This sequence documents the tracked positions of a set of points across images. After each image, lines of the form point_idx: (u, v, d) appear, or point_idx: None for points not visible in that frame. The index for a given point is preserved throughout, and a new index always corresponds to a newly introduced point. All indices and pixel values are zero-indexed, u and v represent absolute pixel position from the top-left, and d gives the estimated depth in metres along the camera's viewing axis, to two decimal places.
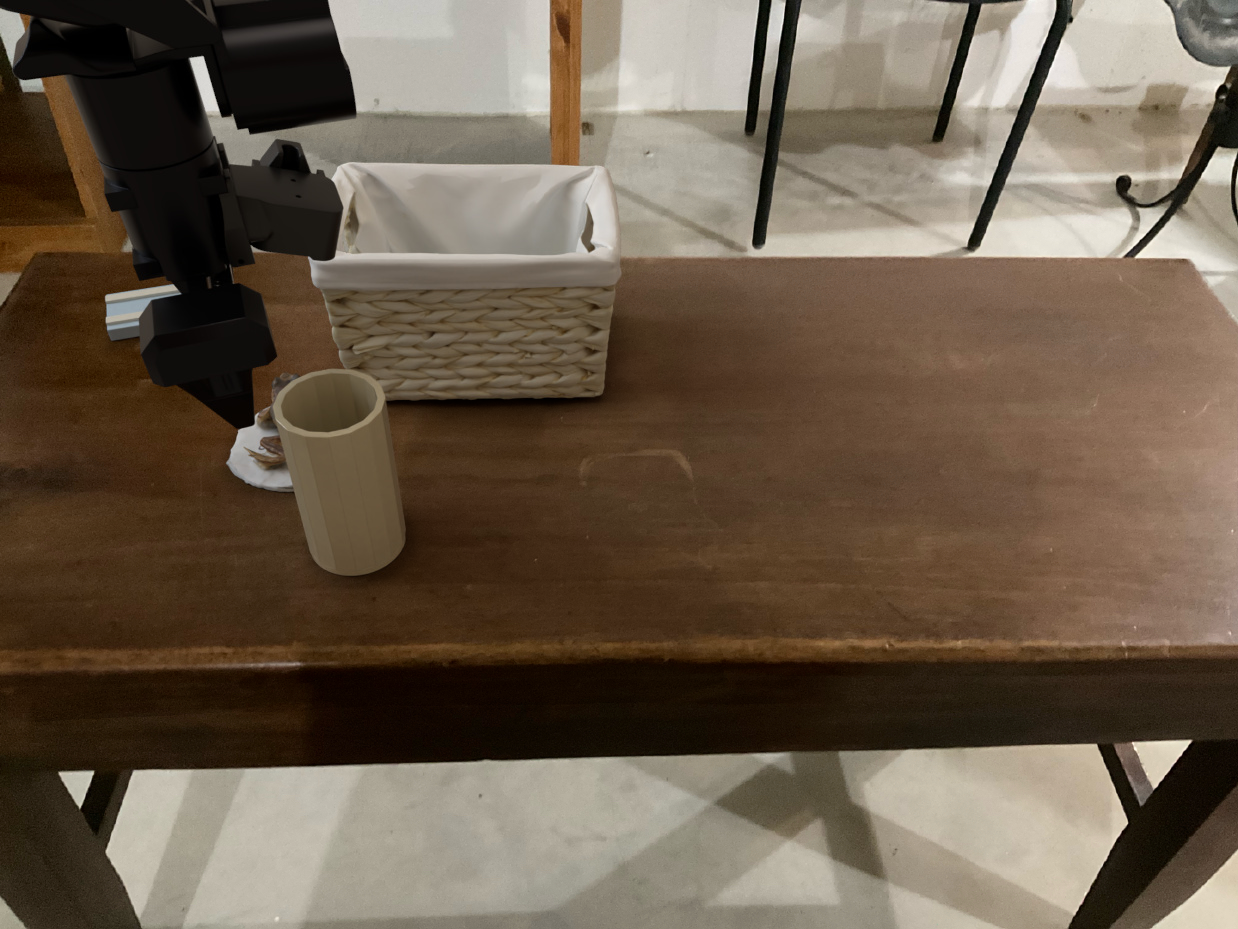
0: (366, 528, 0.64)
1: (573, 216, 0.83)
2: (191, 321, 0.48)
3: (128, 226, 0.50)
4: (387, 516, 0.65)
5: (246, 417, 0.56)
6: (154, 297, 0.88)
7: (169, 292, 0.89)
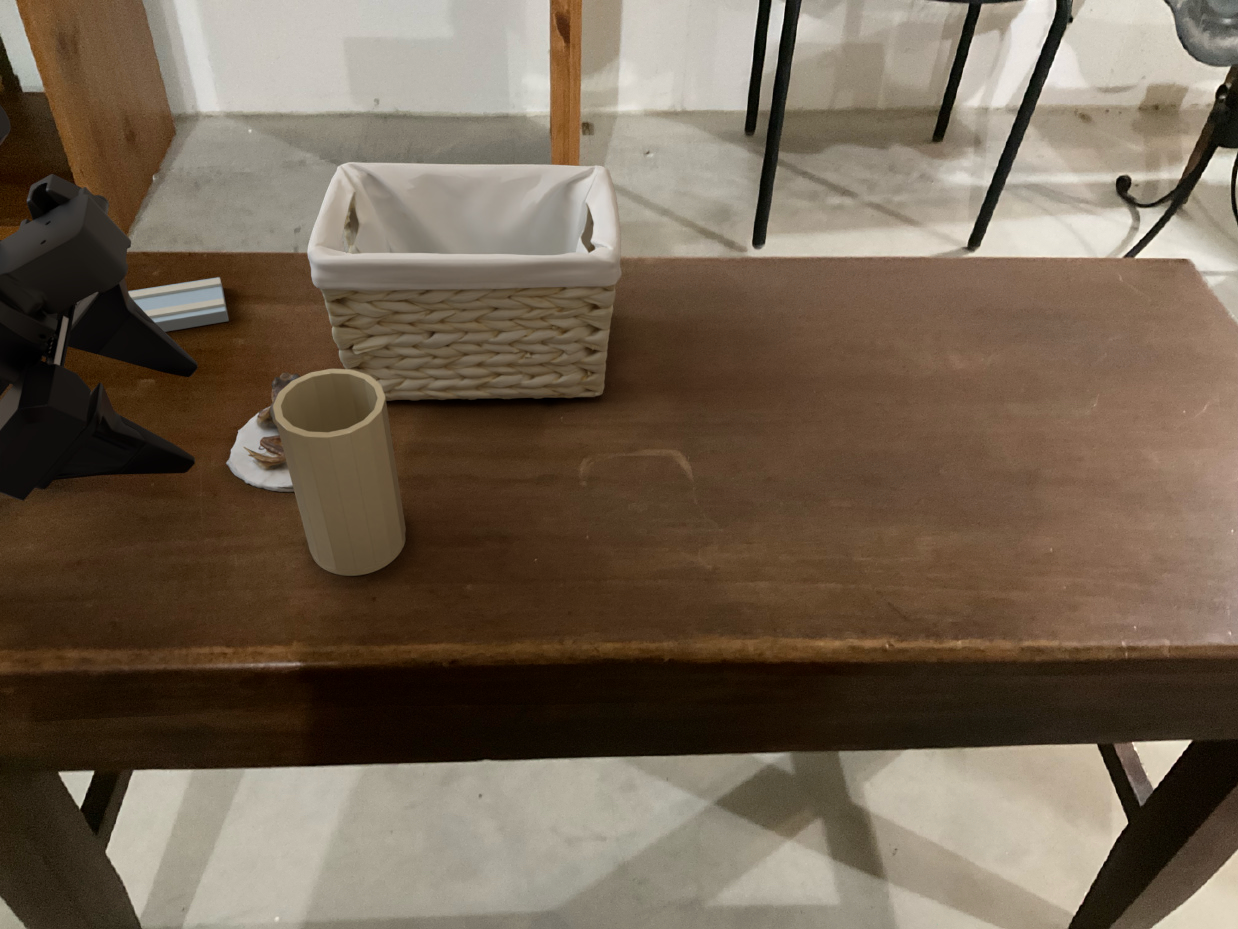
0: (366, 528, 0.64)
1: (574, 216, 0.83)
2: None
3: None
4: (387, 516, 0.65)
5: (177, 461, 0.54)
6: (154, 297, 0.88)
7: (169, 292, 0.89)
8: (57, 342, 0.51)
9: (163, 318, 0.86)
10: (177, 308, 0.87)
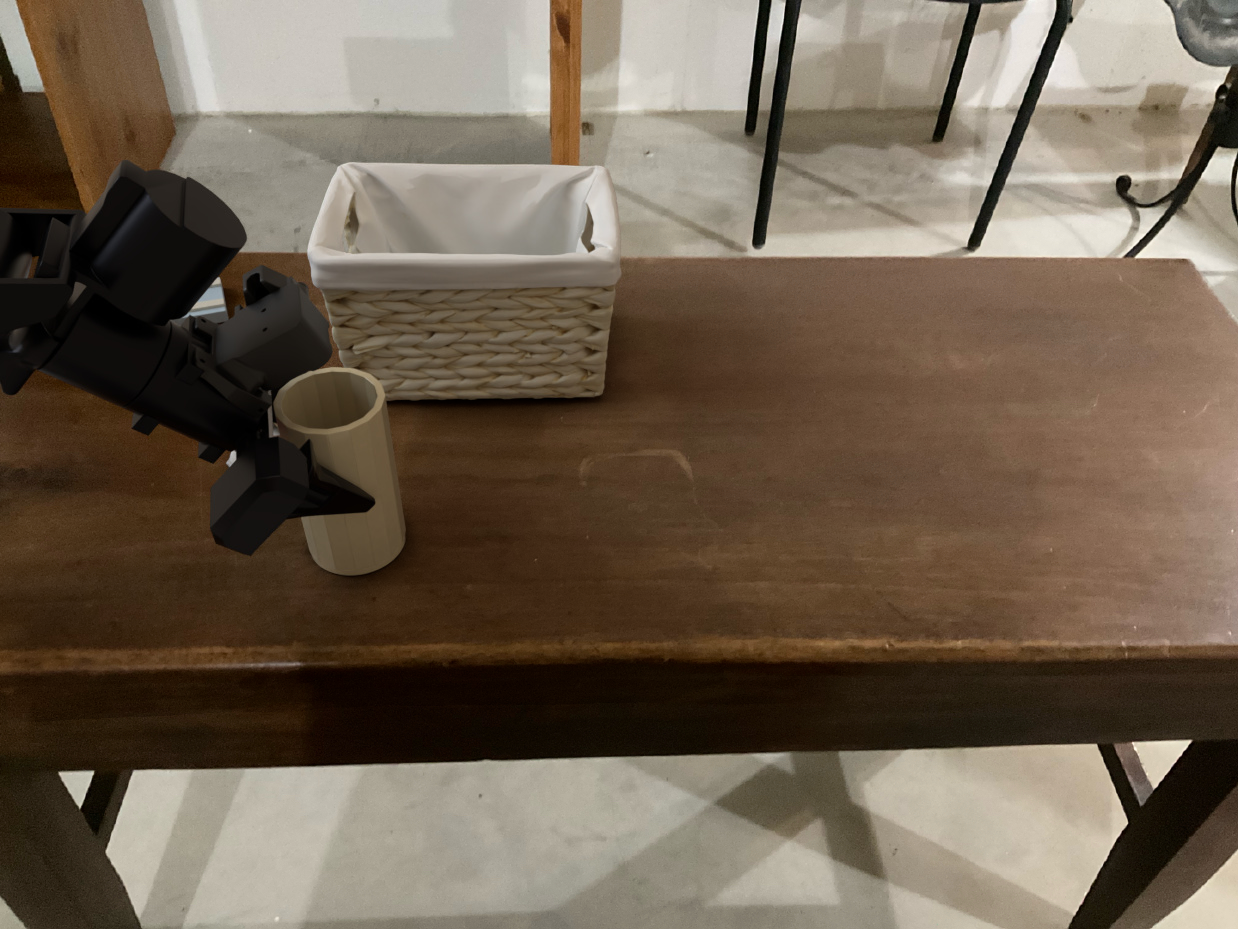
0: (365, 527, 0.64)
1: (573, 216, 0.83)
2: (228, 501, 0.53)
3: (175, 431, 0.57)
4: (386, 515, 0.65)
5: (362, 503, 0.62)
6: None
7: None
8: (267, 413, 0.58)
9: None
10: None
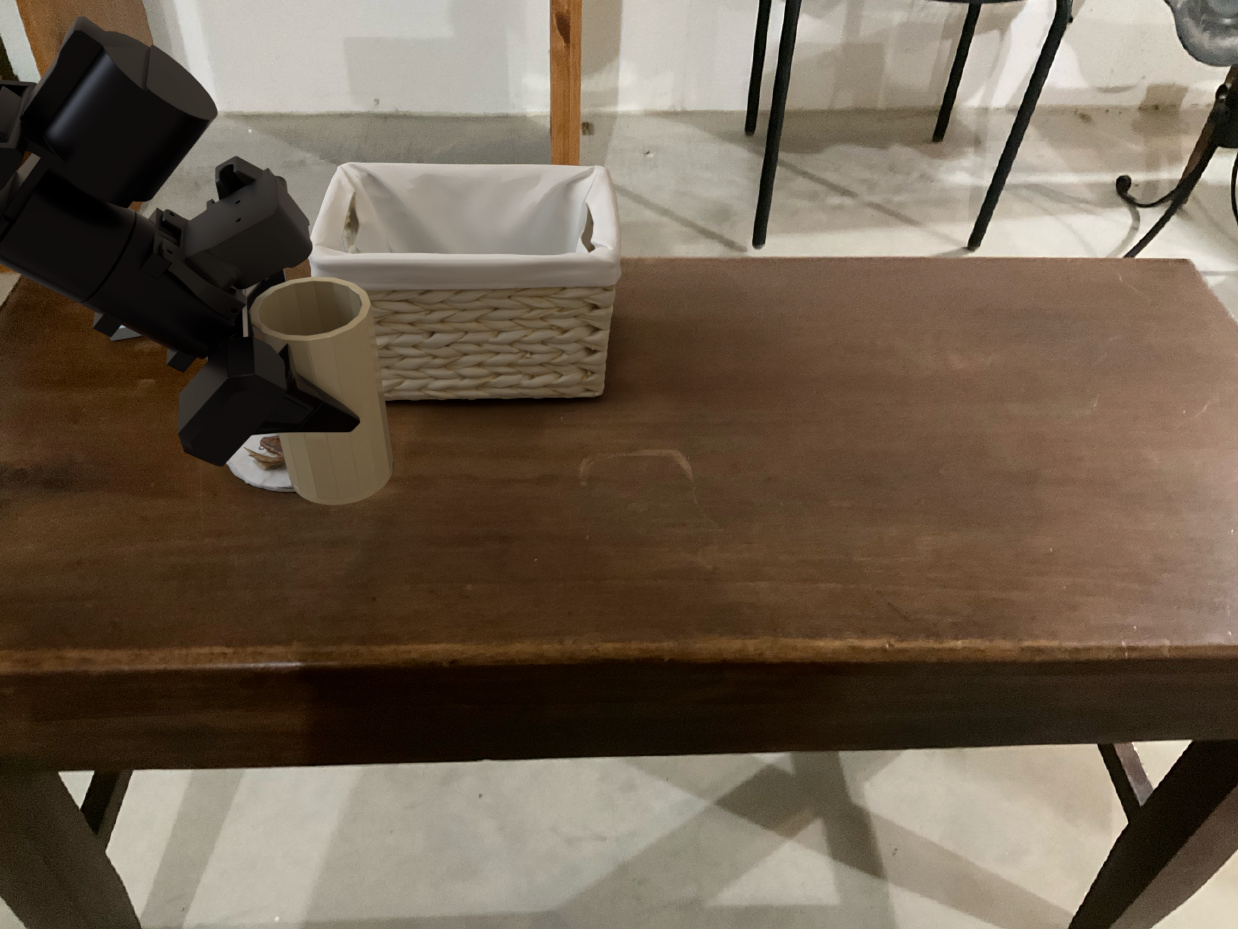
0: (349, 450, 0.60)
1: (574, 216, 0.83)
2: (198, 403, 0.49)
3: (142, 335, 0.52)
4: (372, 438, 0.60)
5: (346, 421, 0.57)
6: None
7: None
8: (241, 317, 0.53)
9: None
10: None
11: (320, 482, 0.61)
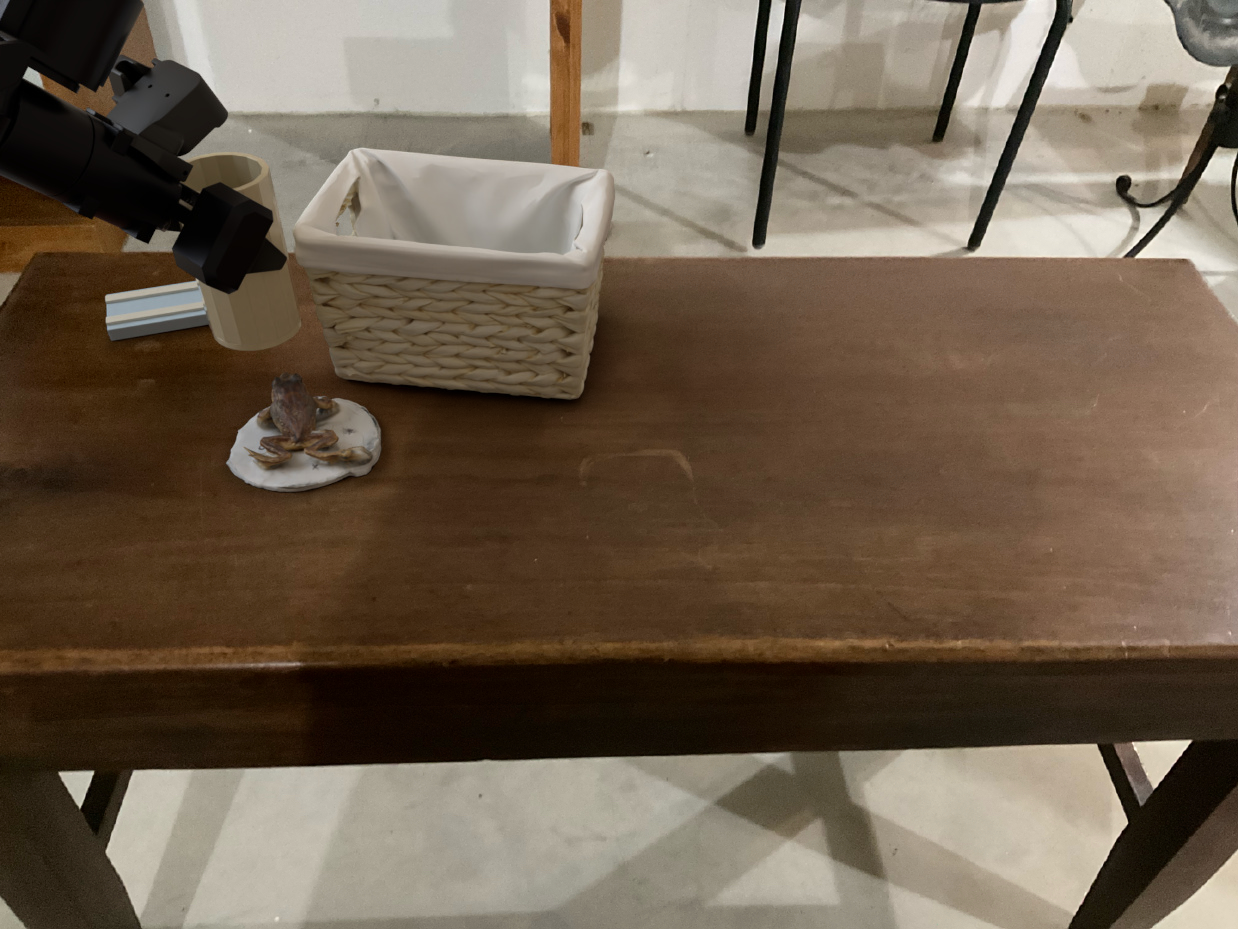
0: (280, 289, 0.72)
1: (574, 217, 0.83)
2: (209, 238, 0.60)
3: (106, 218, 0.61)
4: (290, 277, 0.73)
5: (279, 257, 0.70)
6: (154, 297, 0.88)
7: (169, 292, 0.89)
8: (181, 184, 0.64)
9: (163, 318, 0.86)
10: (177, 308, 0.87)
11: (261, 326, 0.73)
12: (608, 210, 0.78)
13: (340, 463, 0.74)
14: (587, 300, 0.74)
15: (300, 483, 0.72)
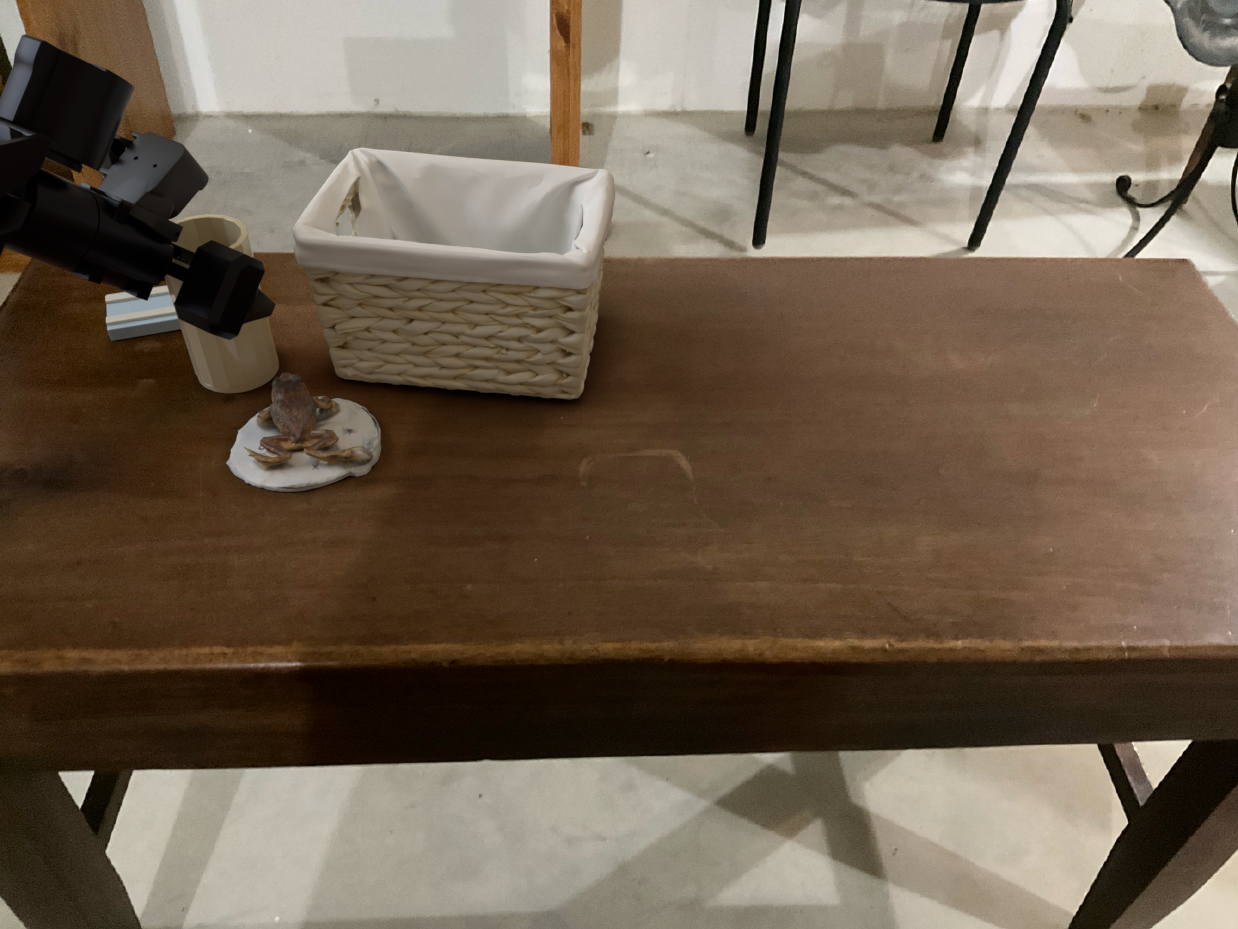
0: (262, 335, 0.79)
1: (574, 217, 0.83)
2: (210, 292, 0.67)
3: (109, 281, 0.67)
4: (269, 323, 0.81)
5: (269, 305, 0.77)
6: (154, 297, 0.88)
7: None
8: (171, 243, 0.70)
9: (163, 318, 0.86)
10: None
11: (247, 370, 0.80)
12: (608, 210, 0.78)
13: (340, 463, 0.74)
14: (587, 300, 0.74)
15: (300, 483, 0.72)
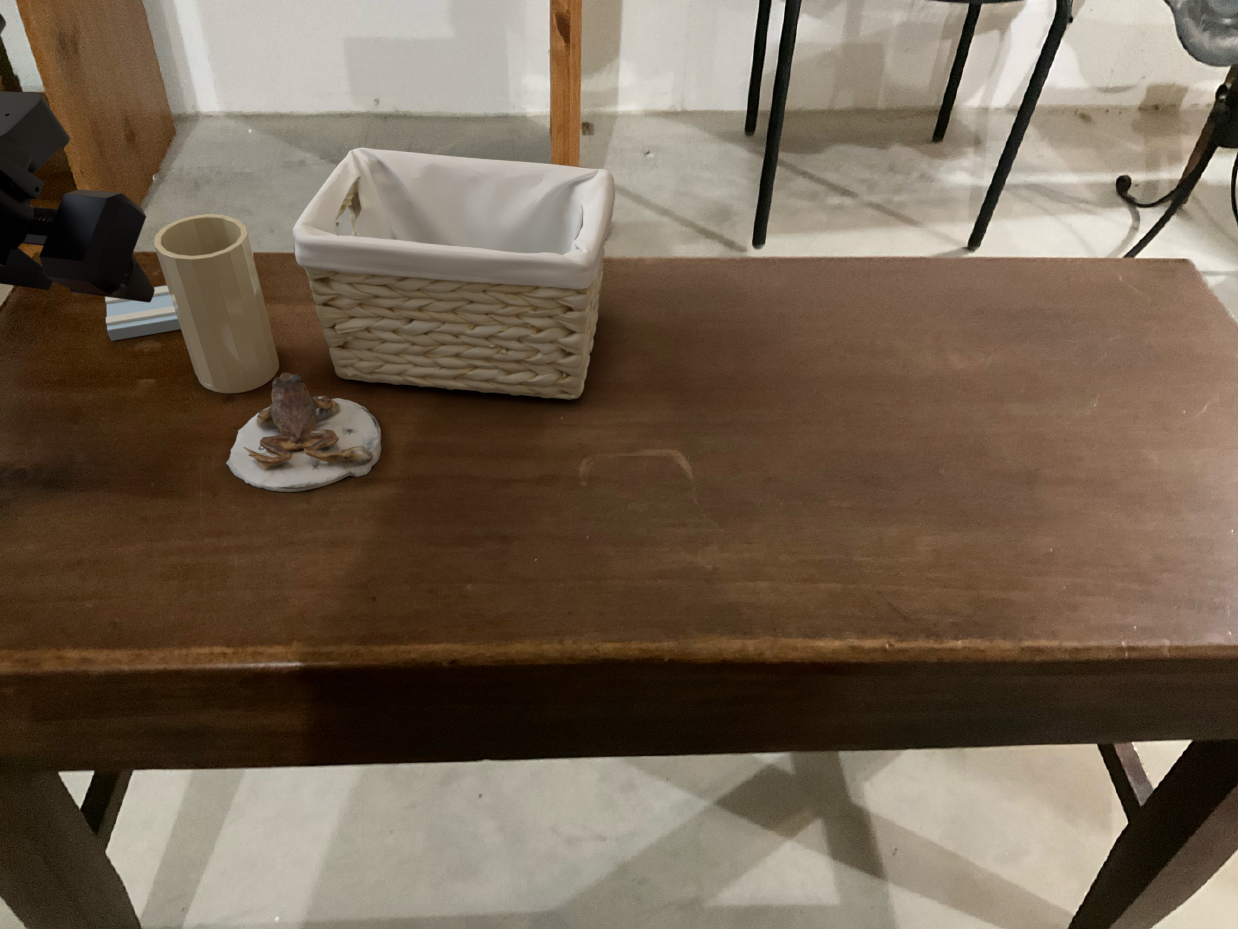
0: (262, 335, 0.79)
1: (574, 217, 0.83)
2: (84, 234, 0.58)
3: None
4: (269, 323, 0.81)
5: (148, 287, 0.68)
6: (154, 297, 0.88)
7: None
8: None
9: (163, 318, 0.86)
10: None
11: (247, 370, 0.80)
12: (608, 210, 0.78)
13: (340, 463, 0.74)
14: (587, 300, 0.74)
15: (300, 483, 0.72)
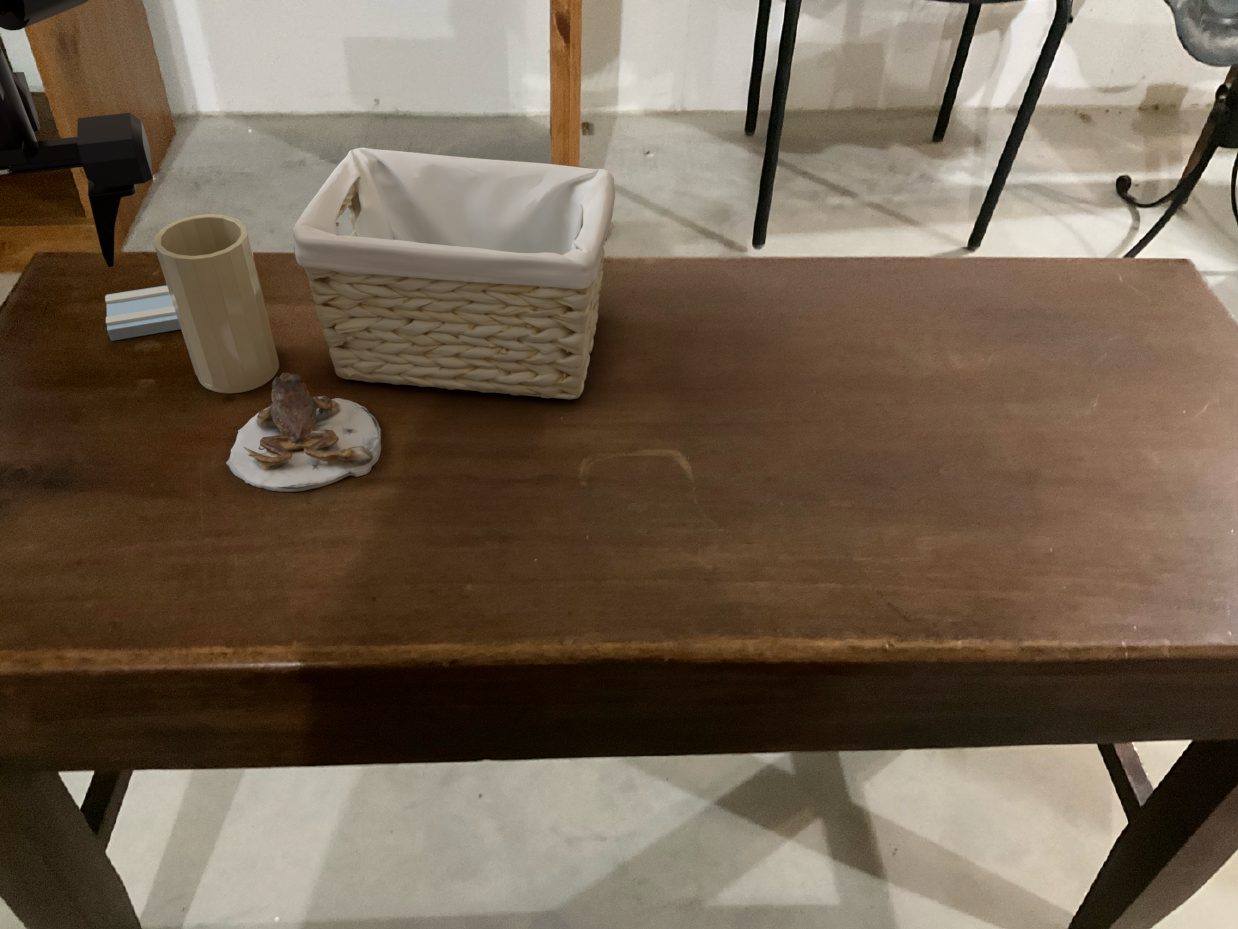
0: (262, 335, 0.79)
1: (574, 217, 0.83)
2: (121, 129, 0.65)
3: None
4: (269, 323, 0.81)
5: None
6: (154, 297, 0.88)
7: None
8: None
9: (163, 318, 0.86)
10: None
11: (247, 370, 0.80)
12: (608, 210, 0.78)
13: (340, 463, 0.74)
14: (587, 300, 0.74)
15: (300, 483, 0.72)
